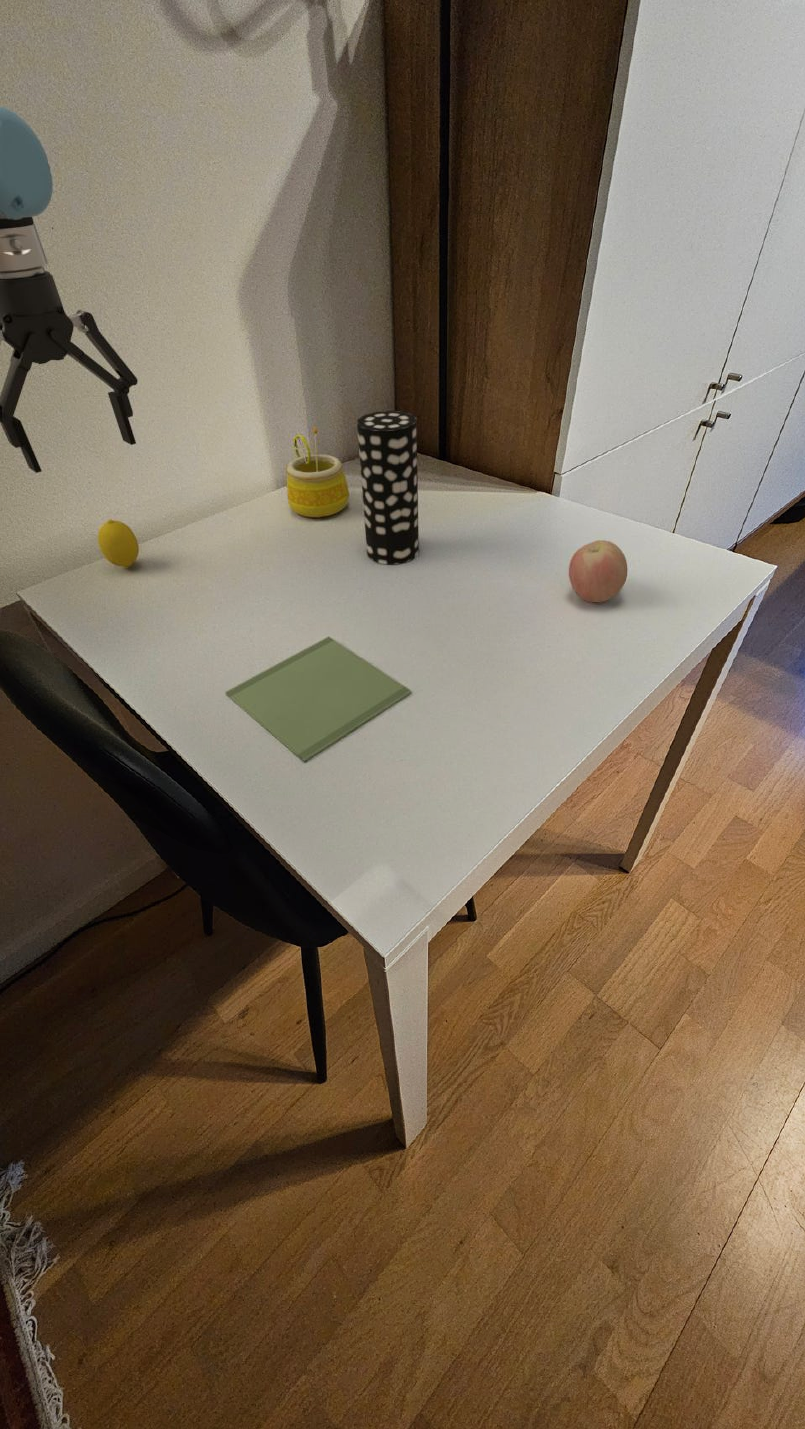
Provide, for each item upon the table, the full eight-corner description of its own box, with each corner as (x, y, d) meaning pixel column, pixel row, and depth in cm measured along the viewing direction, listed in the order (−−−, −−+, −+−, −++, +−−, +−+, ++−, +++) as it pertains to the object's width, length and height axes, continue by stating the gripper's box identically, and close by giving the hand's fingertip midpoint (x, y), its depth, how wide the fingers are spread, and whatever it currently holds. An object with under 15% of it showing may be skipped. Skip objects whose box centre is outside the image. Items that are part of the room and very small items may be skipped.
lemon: (152, 561, 101) (136, 514, 96) (130, 578, 97) (112, 530, 92) (123, 556, 103) (106, 510, 97) (101, 573, 99) (82, 526, 93)
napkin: (304, 762, 68) (303, 760, 67) (225, 694, 76) (224, 692, 76) (411, 693, 75) (411, 690, 75) (328, 638, 84) (328, 636, 84)
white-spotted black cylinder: (358, 559, 99) (346, 427, 86) (379, 536, 105) (371, 408, 91) (407, 568, 97) (403, 433, 83) (426, 543, 102) (425, 414, 89)
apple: (585, 576, 93) (594, 526, 88) (631, 595, 89) (644, 543, 84) (553, 598, 89) (561, 546, 84) (600, 619, 85) (611, 566, 80)
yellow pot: (348, 520, 109) (341, 450, 101) (285, 522, 110) (273, 452, 102) (353, 490, 119) (347, 423, 111) (295, 491, 119) (285, 425, 111)
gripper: (-94, 292, 66) (1, 490, 80) (129, 261, 78) (177, 437, 92) (-111, 285, 70) (-18, 474, 84) (104, 256, 82) (153, 426, 97)
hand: (84, 455), depth 88 cm, fingers open, 13 cm apart
